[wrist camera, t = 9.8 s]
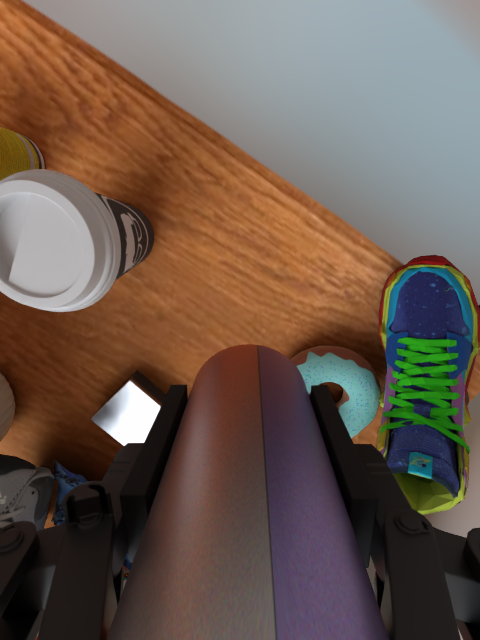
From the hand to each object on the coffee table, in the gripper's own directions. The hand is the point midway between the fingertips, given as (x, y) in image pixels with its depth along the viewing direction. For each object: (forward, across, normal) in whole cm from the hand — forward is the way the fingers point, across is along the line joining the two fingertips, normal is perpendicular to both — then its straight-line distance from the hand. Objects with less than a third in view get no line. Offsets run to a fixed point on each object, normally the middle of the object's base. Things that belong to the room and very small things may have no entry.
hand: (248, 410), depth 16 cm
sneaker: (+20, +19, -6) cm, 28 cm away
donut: (+21, +9, -10) cm, 25 cm away
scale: (+21, -14, -14) cm, 29 cm away
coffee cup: (+22, -13, +7) cm, 27 cm away
